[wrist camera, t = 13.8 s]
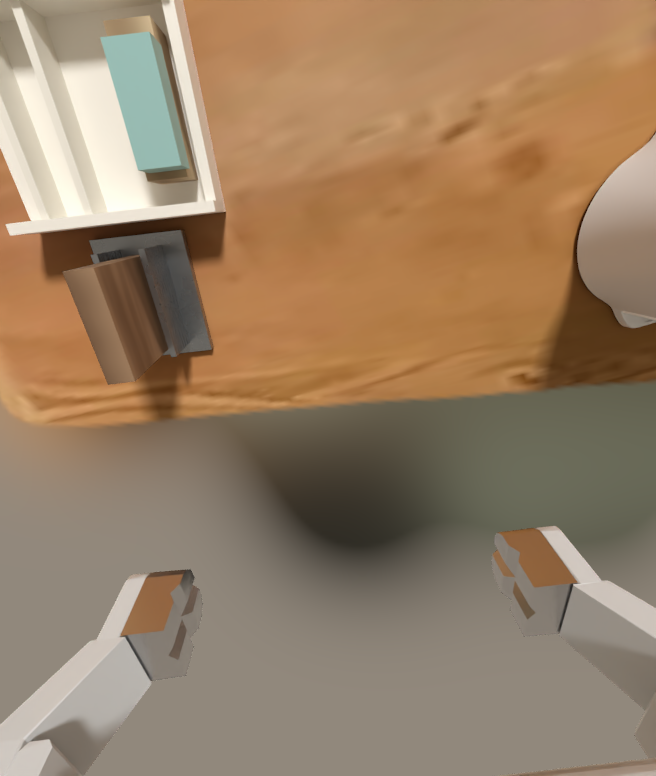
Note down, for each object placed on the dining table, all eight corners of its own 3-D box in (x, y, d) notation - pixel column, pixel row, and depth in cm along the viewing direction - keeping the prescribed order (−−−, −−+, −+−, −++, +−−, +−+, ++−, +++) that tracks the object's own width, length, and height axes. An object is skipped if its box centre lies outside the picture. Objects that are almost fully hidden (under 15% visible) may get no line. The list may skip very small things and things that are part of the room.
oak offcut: (165, 35, 26) (149, 15, 23) (198, 180, 30) (187, 176, 27) (124, 40, 26) (102, 20, 23) (161, 184, 30) (147, 181, 27)
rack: (181, -7, 26) (160, -43, 22) (225, 211, 32) (215, 211, 28) (-44, 19, 26) (-101, -13, 22) (44, 233, 32) (10, 235, 28)
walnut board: (153, 253, 32) (93, 267, 23) (178, 339, 36) (135, 381, 27) (130, 255, 32) (62, 271, 23) (158, 341, 36) (108, 384, 27)
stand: (183, 229, 32) (164, 231, 28) (213, 346, 37) (200, 364, 33) (93, 239, 32) (60, 243, 28) (135, 356, 37) (112, 374, 33)
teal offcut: (161, 45, 24) (149, 31, 22) (189, 168, 27) (181, 165, 25) (115, 50, 24) (100, 37, 22) (149, 173, 27) (137, 170, 25)
